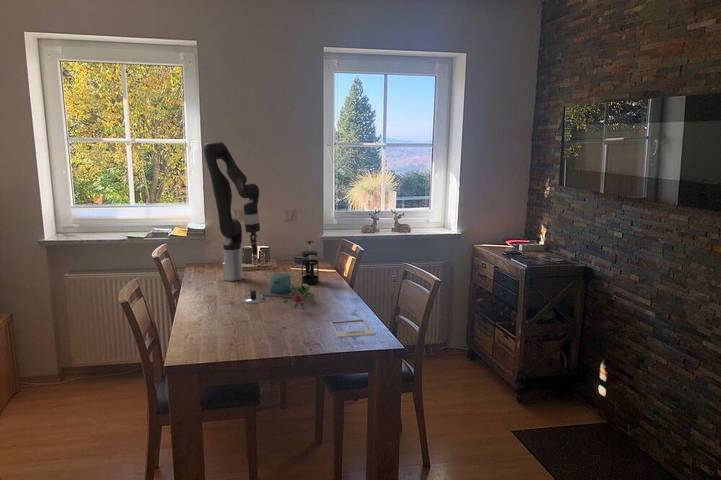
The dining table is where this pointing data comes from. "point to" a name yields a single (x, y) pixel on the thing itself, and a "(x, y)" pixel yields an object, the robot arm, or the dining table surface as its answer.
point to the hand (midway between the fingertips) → (255, 252)
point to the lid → (253, 298)
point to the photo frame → (354, 332)
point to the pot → (279, 286)
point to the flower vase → (302, 291)
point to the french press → (309, 278)
